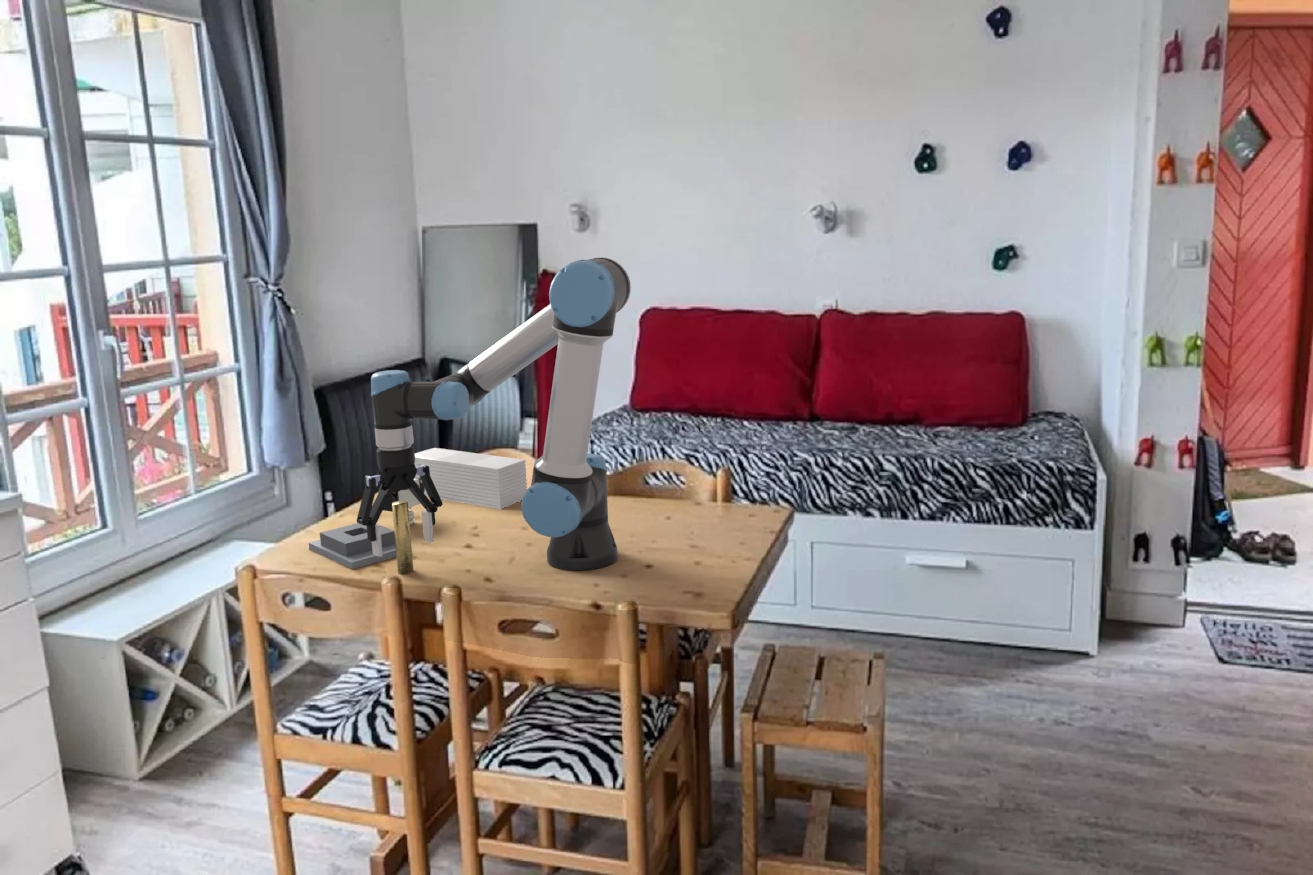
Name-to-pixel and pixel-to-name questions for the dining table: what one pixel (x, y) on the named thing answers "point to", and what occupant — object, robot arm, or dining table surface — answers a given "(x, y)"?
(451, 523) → the dining table surface
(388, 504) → the pneumatic valve
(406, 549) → the brass pin
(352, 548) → the grey socket base
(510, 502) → the stack of papers
